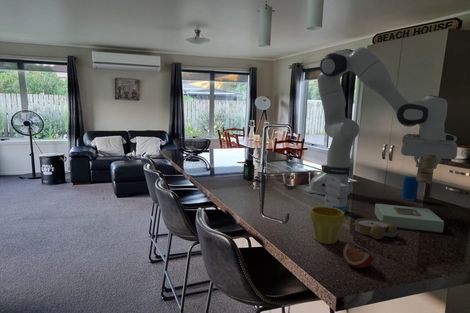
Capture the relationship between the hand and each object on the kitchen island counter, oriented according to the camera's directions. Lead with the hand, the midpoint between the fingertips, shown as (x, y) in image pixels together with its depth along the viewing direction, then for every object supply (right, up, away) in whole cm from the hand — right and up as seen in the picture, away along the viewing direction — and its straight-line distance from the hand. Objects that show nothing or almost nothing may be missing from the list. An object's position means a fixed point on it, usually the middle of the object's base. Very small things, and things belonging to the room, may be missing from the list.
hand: (425, 167), depth 131 cm
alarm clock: (-32, -22, -24) cm, 46 cm away
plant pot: (-52, -23, -31) cm, 64 cm away
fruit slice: (-48, -25, -47) cm, 71 cm away
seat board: (-14, -21, -10) cm, 27 cm away
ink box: (-38, -18, +2) cm, 42 cm away
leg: (0, -6, +1) cm, 6 cm away
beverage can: (+6, -17, +23) cm, 29 cm away
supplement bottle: (-73, -9, +58) cm, 94 cm away
